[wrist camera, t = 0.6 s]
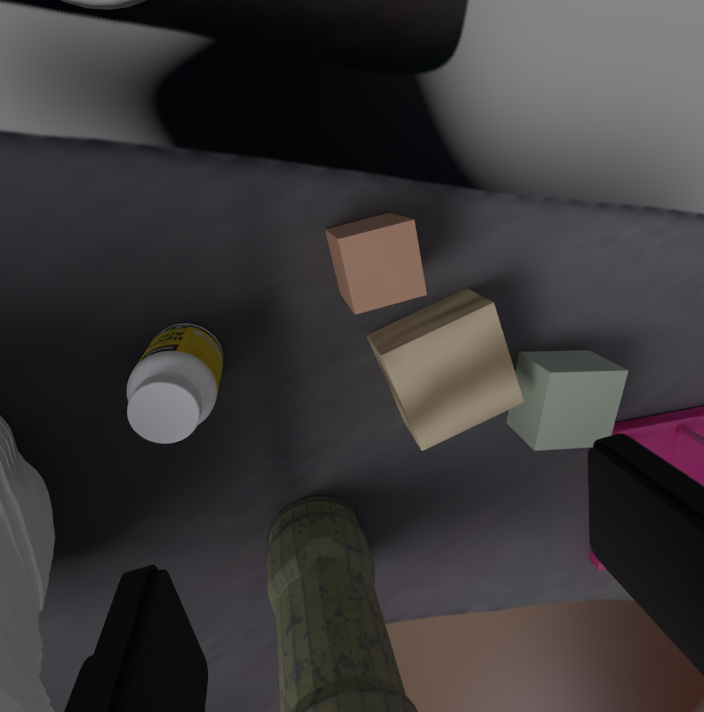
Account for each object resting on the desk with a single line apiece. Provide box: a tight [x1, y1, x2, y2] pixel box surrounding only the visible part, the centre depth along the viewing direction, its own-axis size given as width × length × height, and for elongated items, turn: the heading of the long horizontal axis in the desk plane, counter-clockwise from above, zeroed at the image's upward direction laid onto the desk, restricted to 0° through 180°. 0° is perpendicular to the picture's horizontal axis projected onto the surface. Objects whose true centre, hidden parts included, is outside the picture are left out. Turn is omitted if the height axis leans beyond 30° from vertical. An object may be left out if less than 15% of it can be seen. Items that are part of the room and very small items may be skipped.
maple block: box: [367, 288, 524, 451], centre depth 39 cm, size 9×9×5 cm
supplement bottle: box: [127, 323, 223, 444], centre depth 32 cm, size 5×5×10 cm
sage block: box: [506, 350, 628, 451], centre depth 42 cm, size 7×7×5 cm
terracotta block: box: [325, 213, 427, 314], centre depth 34 cm, size 5×5×6 cm
